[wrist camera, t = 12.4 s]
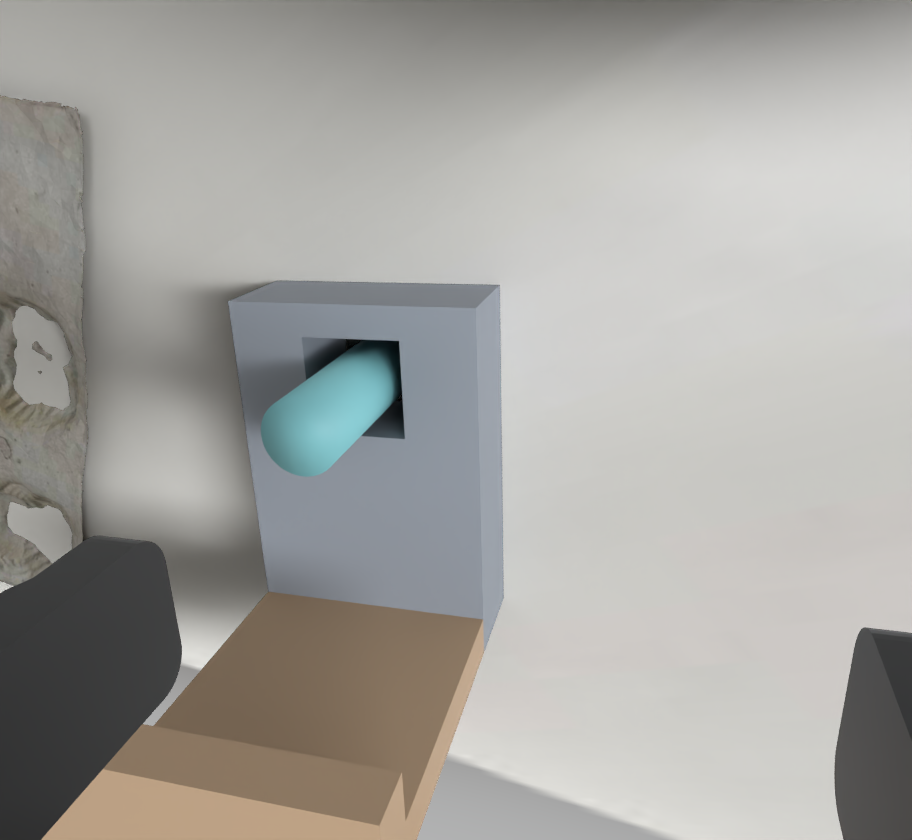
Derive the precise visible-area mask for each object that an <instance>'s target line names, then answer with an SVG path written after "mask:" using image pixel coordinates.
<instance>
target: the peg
mask: <svg viewBox="0 0 912 840" xmlns="http://www.w3.org/2000/svg"><path fill="white" fill-rule="evenodd" d="M401 394H402V381H401V365H400V348H399V341H388V340H361V341H360V342H359V343H357V344H356V345H354V346H353V347H352V348H350V349H349V350H348V351H346V352H345V353H343V354H342V355H341V356H339V357H338V358H336V359H335V360H334V361H332V362H331V363H330V364H328V365H327V366H325V367H324V368H323V369H321V370H320V371H318V372H317V373H316V374H314V375H313V376H312V377H310V378H309V379H307V380H306V381H305V382H303V383H302V384H300V385H299V386H298V387H296V388H295V389H294V390H292V391H291V392H289V393H288V394H287V395H285V396H284V397H282V398H281V399H280V400H278V401H277V402H276V403H274V404H273V405H272V406H271V407H269V408H268V410H267V411H266V413H265V414H264V416H263V419H262V423H261V437H262V442H263V445H264V447H265V449H266V451H267V453H268V455H269V456H270V457H271V459H272V460H273V461H274V462H275V463H276V464H277V465H278V466H279V467H281V468H282V469H284V470H285V471H287V472H289V473H292V474H294V475H298V476H304V477H310V476H316V475H319V474H321V473H323V472H325V471H327V470H328V469H329V468H330V467H331V466H332V465H333V464H334V463H335V462H336V461H337V460H338V459H339V458H340V457H341V456H342V455H343V454H344V453H345V452H346V451H347V450H348V449H349V448H350V447H351V446H352V445H353V444H354V442H355V441H356V440H357V439H358V438H359V437H360V436H361V435H362V434H363V433H364V432H365V431H366V430H367V429H368V428H369V427H370V426H371V425H372V424H373V423H374V422H375V421H376V420H377V419H378V418H379V417H380V416H381V415H382V414H383V413H384V412H385V411H386V410H387V409H388V408H389V407H390V406H391V405H392V404H393V403H394V402H395V401H396V400H397V399H398V397H399V396H400V395H401Z"/></svg>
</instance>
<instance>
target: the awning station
mask: <svg viewBox="0 0 912 840" xmlns="http://www.w3.org/2000/svg"><path fill="white" fill-rule="evenodd" d="M228 305H229V312H230V320H231V327H232V334H233V341H234V348H235V356H236V363H237V370H238V377H239V384H240V391H241V399H242V406H243V413H244V420H245V427H246V435H247V442H248V449H249V456H250V463H251V471H252V478H253V485H254V492H255V499H256V507H257V514H258V521H259V528H260V535H261V542H262V550H263V557H264V564H265V571H266V578H267V586H268V593H267V594H266V595H265V596H264V597H263V598H262V600H261V601H260V602H259V603H258V604H257V605H256V607H255V608H254V609H253V610H252V611H251V612H250V614H249V615H248V616H247V617H246V618H245V619H244V621H243V622H242V623H241V624H240V625H239V626H238V628H237V629H236V630H235V631H234V632H233V633H232V635H231V636H230V637H229V638H228V639H227V641H226V642H225V643H224V644H223V645H222V646H221V648H220V649H219V650H218V651H217V652H216V653H215V655H214V656H213V657H212V658H211V659H210V660H209V662H208V663H207V664H206V665H205V666H204V667H203V669H202V670H201V671H200V672H199V673H198V674H197V676H196V677H195V678H194V679H193V680H192V682H191V683H190V684H189V685H188V686H187V687H186V688H185V690H184V691H183V692H182V693H181V694H180V695H179V697H178V698H177V699H176V700H175V702H174V703H173V704H172V705H171V706H170V707H169V708H168V710H167V711H166V712H165V713H164V714H163V715H162V717H161V718H160V719H159V720H158V721H157V723H156V724H155V725H154V726H149V725H144V724H142V725H141V726H140V727H139V728H138V730H137V731H136V732H135V733H134V734H133V735H132V736H131V738H130V739H129V740H128V741H127V742H126V743H125V744H124V746H123V747H122V748H121V749H120V750H119V751H118V752H117V754H116V755H115V756H114V757H113V758H112V759H111V760H110V762H109V763H108V764H107V765H106V766H105V767H104V768H103V770H102V771H101V772H100V773H99V774H98V775H97V776H96V778H95V779H94V780H93V781H92V782H91V783H90V784H89V786H88V787H87V788H86V789H85V790H84V791H83V792H82V793H81V795H80V796H79V797H78V798H77V799H76V800H75V801H74V803H73V804H72V805H71V806H70V807H69V808H68V809H67V811H66V812H65V813H64V814H63V815H62V816H61V817H60V819H59V820H58V821H57V822H56V823H55V824H54V825H53V827H52V828H51V829H50V830H49V831H48V832H47V833H46V835H45V836H44V837H43V838H42V839H41V840H417V837H418V834H419V831H420V829H421V826H422V823H423V820H424V817H425V815H426V812H427V809H428V806H429V804H430V801H431V798H432V795H433V792H434V790H435V787H436V784H437V781H438V779H439V776H440V773H441V770H442V767H443V765H444V762H445V759H446V756H447V754H448V751H449V748H450V745H451V743H452V740H453V737H454V734H455V731H456V729H457V726H458V723H459V720H460V717H461V715H462V712H463V709H464V706H465V704H466V701H467V698H468V695H469V692H470V690H471V687H472V684H473V681H474V679H475V676H476V673H477V670H478V667H479V665H480V662H481V659H482V656H483V654H484V651H485V648H486V645H487V642H488V640H489V637H490V634H491V631H492V629H493V626H494V623H495V620H496V617H497V615H498V612H499V609H500V606H501V604H502V601H503V598H504V593H503V514H502V435H501V355H500V285H469V284H418V283H367V282H316V281H275V282H273V283H270V284H268V285H266V286H263V287H261V288H259V289H256V290H254V291H251V292H249V293H247V294H244V295H242V296H240V297H237V298H235V299H232V300H230V301H228ZM345 339H362V340H388V341H399V348H400V365H401V381H402V398H403V402H397V401H395V402H394V403H393V404H392V405H391V406H390V407H389V408H388V409H387V410H386V411H385V412H384V413H383V414H382V415H381V416H380V417H379V418H378V419H377V420H376V421H375V422H374V423H373V424H372V425H371V426H370V427H369V428H368V429H367V430H366V431H365V432H364V433H363V434H362V435H361V436H360V437H359V438H358V439H357V440H356V441H355V442H354V444H353V445H352V446H351V447H350V448H349V449H348V450H347V451H346V452H345V453H344V454H343V455H342V456H341V457H340V458H339V459H338V460H337V461H336V462H335V463H334V464H333V465H332V466H331V467H330V468H329V469H328V470H327V471H325V472H323V473H321V474H319V475H316V476H310V477H304V476H298V475H294V474H292V473H289V472H287V471H285V470H284V469H282V468H281V467H279V466H278V465H277V464H276V463H275V462H274V461H273V460H272V459H271V457H270V456H269V455H268V453H267V451H266V449H265V447H264V445H263V442H262V437H261V423H262V419H263V416H264V414H265V413H266V411H267V410H268V408H269V407H271V406H272V405H273V404H274V403H276V402H277V401H278V400H280V399H281V398H282V397H284V396H285V395H287V394H288V393H289V392H291V391H292V390H294V389H295V388H296V387H298V386H299V385H300V384H302V383H303V382H305V381H306V380H307V379H309V378H310V377H312V376H313V375H314V374H316V373H317V372H318V371H320V370H321V369H323V368H324V367H325V366H327V365H328V364H330V363H331V362H332V361H334V360H335V359H336V358H338V357H339V356H341V355H342V354H343V353H345V352H346V342H345Z"/></svg>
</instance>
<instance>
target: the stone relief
mask: <svg viewBox="0 0 912 840" xmlns="http://www.w3.org/2000/svg"><path fill="white" fill-rule="evenodd" d="M81 135H83V131H82V130H81V127H80V116H79V113H78V109H77V108H76V107H75V110H74V109H73V108H71V107H69V106H67V107H65V106H63V107H61V104H59V103H56V102H46V103H42V102H37V101H29V100H26V99H23V100H19V99H13V98H8V97H6V96H5V97H4V96H1V95H0V581H2V582H5V583H7V584H10V585H13V586H16V585H18V584H20V583H22V582H25V581H27V580H29V579H31V578H33V577H35V576H36V575H38V574H39V573H40V572H42V571H43V570H44V569H46V568H47V567H49V566H50V565H51V564H52V563H51V562H50V561H49V559H48V558H47V557H46V556H45V555H44V554H43V553H42V552H40V551H39V550H38V549H37V547H36V546H35V545H34V544H33V543H31V542H30V541H28V540H26V539H25V538H23V537H21V536H19V535H17V534H14V533H13V532H12V531H11V529H10V528H9V527H8V524H7V514H8V509H9V504H10V502H15V503H17V504H20V505H23V506H26V507H27V508H35V507H38V508H44V507H45V506H47V505H49V506H52V507H54V508H58V509H59V510H60V511H61V512H62V514H63V517H64V518H65V520H66V521H67V523H68V524H69V526H70V528H71V531H72V534H73V535H72V549H74V548H75V547H76V546H78V545H79V544H80V543H82V542H83V537H82V536H84V535H83V534H82V522H83V520H82V510H81V508H82V506H81V504H82V497H81V495H82V493H81V491H82V492H83V490H82V484H81V483H82V476H83V470H84V466H85V457H86V455H85V454H86V447H87V444H88V443H87V439H88V434H87V433H88V427H87V423H86V422H87V421H86V420H87V416H86V409H87V395H88V394H87V389H86V380H85V375H86V363H85V362H86V361H87V360H86V356H85V351H84V347H83V345H82V339H83V338H82V321H81V318H82V306H83V298H82V296H83V289H82V288H81V287H80V286H81V285H82V278H83V257H82V256H83V255H84V252H85V251H86V246H85V232H84V231H83V230H82V229H83V228H84V227H83V217H82V207H81V202H83V200H82V199H81V197H80V196H82V195H83V154H82V143H83V139H82V138H81ZM84 229H85V228H84ZM20 306H29V307H31V308H34V309H35V310H36V311H37V312H38V313H39V314H40V315H41V316H43V317H44V318H45V319H47V320H52V321H55V322H57V323H58V324H59V326H60V327H61V329H62V330H63V332H64V333H65V334H64V337H65V339H66V343H67V346H68V349H69V351H70V352H71V354H72V358H71V360H70V362H69V364H68V365H66V366H65V367H63V370H64V372H65V375H66V378H67V381H68V386H69V396H70V400H71V401H70V405H69V406H68V407H67V408H65V409H64V410H60V409H58V408H56V407H49V406H47V405H44V404H42V403H40V404H33V405H29V404H27V403H26V402H25V401H24V400H23V399H22V398H21V397H20V396H19V395H18V393H17V392H16V391H15V389H14V385H13V381H14V377H15V374H16V366H17V365H16V362H15V359H14V350H15V348H16V347H17V339H16V338H15V336H14V334H13V328H12V321H13V319H14V318H15V312H16V310H17V309H18V308H19V307H20ZM32 349H33V350H35V351H36V352H38V353H40V354H42V355H44V356H45V357H46V358H47V359H48V360H49V361H51V360H52V355H51V354H48V353H47V352H45V351H44V350H43V348H42V347H41V346H40V345H39V343H38V342H37V341H35V342H34V343H33V344H32ZM38 373H40V374H41V373H42V371H38Z"/></svg>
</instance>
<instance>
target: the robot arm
mask: <svg viewBox="0 0 912 840" xmlns="http://www.w3.org/2000/svg"><path fill="white" fill-rule="evenodd" d="M181 656H182V646H181V639H180V634H179V629H178V624H177V619H176V613H175V608H174V603H173V598H172V592H171V587H170V582H169V577H168V571H167V566H166V561H165V557H164V555H163V552H162V551H161V549H160V548H159V547H158V546H157V545H156V544H155V543H153V542H148V541H140V540H132V539H123V538H115V537H106V536H93V537H90V538H88V539H86V540H85V541H83V542H82V543H80V544H79V545H78V546H76V547H75V548H74V549H72V550H71V551H69V552H68V553H67V554H65V555H64V556H62V557H61V558H60V559H58V560H57V561H56V562H54V563H53V564H51V565H50V566H49V567H47V568H46V569H44V570H43V571H42V572H40V573H39V574H38V575H36V576H35V577H33V578H31V579H29V580H27V581H25V582H22V583H20V584H18V585H16V586H14V587H11V588H9V589H7V590H5V591H3V592H2V593H1V594H0V840H41V839H42V838H43V837H44V836H45V835H46V833H47V832H48V831H49V830H50V829H51V828H52V827H53V825H54V824H55V823H56V822H57V821H58V820H59V819H60V817H61V816H62V815H63V814H64V813H65V812H66V811H67V809H68V808H69V807H70V806H71V805H72V804H73V803H74V801H75V800H76V799H77V798H78V797H79V796H80V795H81V793H82V792H83V791H84V790H85V789H86V788H87V787H88V786H89V784H90V783H91V782H92V781H93V780H94V779H95V778H96V776H97V775H98V774H99V773H100V772H101V771H102V770H103V768H104V767H105V766H106V765H107V764H108V763H109V762H110V760H111V759H112V758H113V757H114V756H115V755H116V754H117V752H118V751H119V750H120V749H121V748H122V747H123V746H124V744H125V743H126V742H127V741H128V740H129V739H130V738H131V736H132V735H133V734H134V733H135V732H136V731H137V730H138V728H139V727H140V726H141V725H142V724H143V723H144V722H145V720H146V719H147V718H148V717H149V716H150V715H151V714H152V712H153V711H154V710H155V709H156V708H157V707H158V706H159V704H160V703H161V702H162V701H163V700H164V699H165V697H166V696H167V695H168V693H169V692H170V690H171V689H172V687H173V685H174V683H175V680H176V678H177V675H178V672H179V668H180V664H181ZM835 796H836V805H837V812H838V817H839V821H840V826H841V830H842V835H843V839H844V840H912V633H907V632H899V631H890V630H882V629H873V628H863V629H861V631H860V632H859V634H858V636H857V640H856V643H855V648H854V653H853V658H852V664H851V669H850V675H849V680H848V686H847V691H846V697H845V702H844V708H843V713H842V719H841V724H840V730H839V735H838V741H837V747H836V755H835Z"/></svg>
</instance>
